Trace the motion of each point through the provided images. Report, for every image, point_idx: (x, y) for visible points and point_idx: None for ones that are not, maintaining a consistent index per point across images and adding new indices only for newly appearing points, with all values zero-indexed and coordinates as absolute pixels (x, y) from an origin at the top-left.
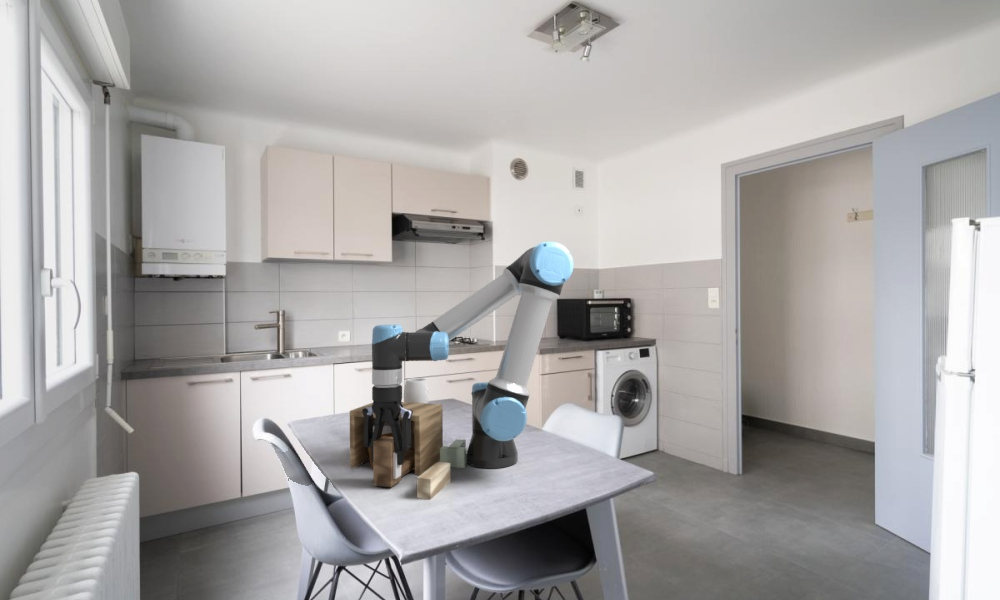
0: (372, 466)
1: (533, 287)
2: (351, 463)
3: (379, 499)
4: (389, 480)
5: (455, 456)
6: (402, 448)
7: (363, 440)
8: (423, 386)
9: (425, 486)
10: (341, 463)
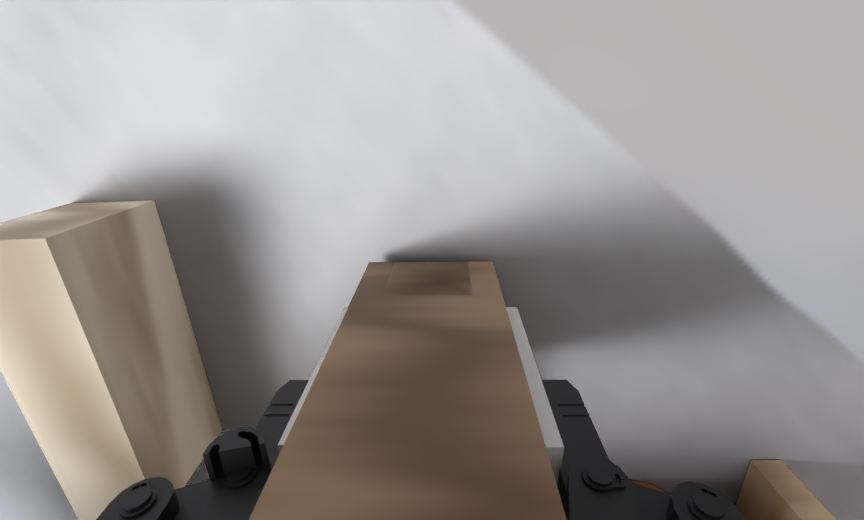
0: (650, 486)
1: None
2: (788, 478)
3: (344, 102)
4: (372, 279)
5: None
6: (168, 501)
7: None
8: None
9: (34, 222)
10: (855, 489)
